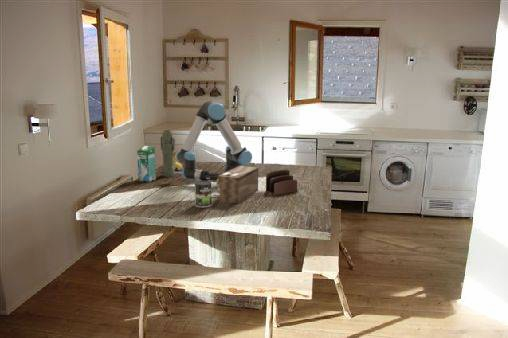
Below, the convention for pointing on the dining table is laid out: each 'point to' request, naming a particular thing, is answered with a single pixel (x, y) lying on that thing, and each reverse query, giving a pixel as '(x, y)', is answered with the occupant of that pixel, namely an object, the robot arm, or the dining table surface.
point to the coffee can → (203, 194)
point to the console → (238, 184)
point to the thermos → (168, 153)
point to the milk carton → (146, 163)
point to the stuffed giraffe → (177, 164)
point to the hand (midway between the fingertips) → (232, 178)
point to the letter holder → (280, 182)
